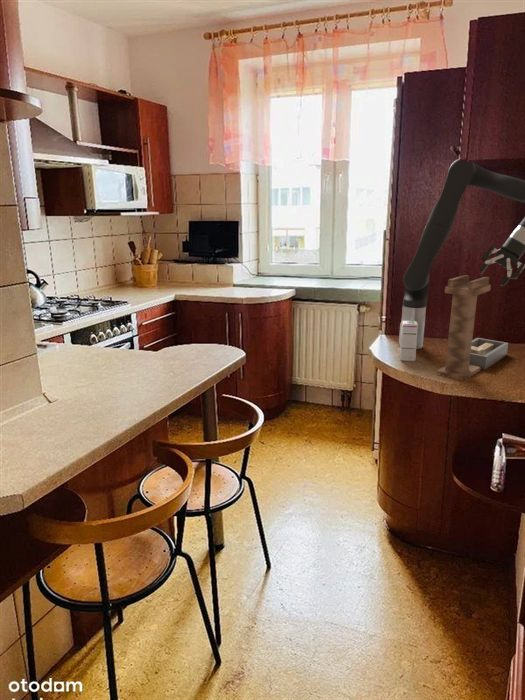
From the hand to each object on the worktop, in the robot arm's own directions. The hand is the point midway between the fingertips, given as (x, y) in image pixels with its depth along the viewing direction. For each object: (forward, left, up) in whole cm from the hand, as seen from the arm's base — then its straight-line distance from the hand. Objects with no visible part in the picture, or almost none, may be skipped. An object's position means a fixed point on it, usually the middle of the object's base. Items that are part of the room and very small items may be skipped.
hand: (490, 279), depth 188 cm
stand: (+12, -20, -30) cm, 38 cm away
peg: (+1, -1, -29) cm, 29 cm away
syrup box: (-8, -28, -31) cm, 42 cm away
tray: (+2, -2, -30) cm, 30 cm away
